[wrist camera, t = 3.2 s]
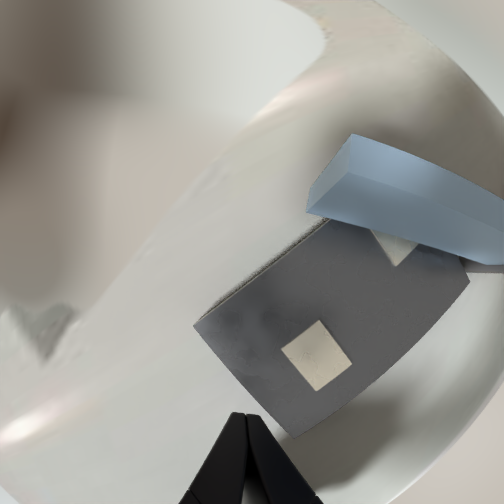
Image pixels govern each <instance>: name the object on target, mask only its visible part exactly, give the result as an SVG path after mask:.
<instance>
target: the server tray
mask: <svg viewBox="0 0 504 504" xmlns="http://www.w3.org/2000/svg"><path fill="white" fill-rule="evenodd" d="M469 283H470V280H469V278H468V276H467V274H466V272H465V270H464V268H463V266H462V264H461V262H460V260H459V258H458V256H457V255H455V254H452V253H449V252H446V251H443V250H440V249H437V248H433V247H430V246H427V245H424V244H420V243H417V242H414V241H410V240H407V239H404V238H400V237H397V236H393V235H390V234H386V233H383V232H379V231H375V230H372V229H368V228H364V227H361V226H357V225H353V224H349V223H346V222H342V221H338V220H334V219H329V220H327V221H326V222H325V223H324V224H322V225H321V226H320V227H319V228H317V229H316V230H315V231H314V232H312V233H311V234H310V235H308V236H307V237H306V238H305V239H303V240H302V241H301V242H300V243H298V244H297V245H296V246H295V247H293V248H292V249H291V250H289V251H288V252H287V253H286V254H284V255H283V256H282V257H280V258H279V259H278V260H277V261H275V262H274V263H273V264H271V265H270V266H269V267H268V268H266V269H265V270H264V271H262V272H261V273H260V274H259V275H257V276H256V277H255V278H253V279H252V280H251V281H249V282H248V283H247V284H245V285H244V286H243V287H242V288H240V289H239V290H238V291H236V292H235V293H234V294H232V295H231V296H230V297H228V298H227V299H226V300H224V301H223V302H222V303H220V304H219V305H218V306H217V307H215V308H214V309H213V310H211V311H210V312H209V313H207V314H206V315H205V316H203V317H202V318H201V319H199V320H198V321H197V322H196V323H195V324H194V325H193V327H194V328H195V329H196V331H197V332H198V333H199V334H200V336H201V337H202V338H203V339H204V341H205V342H206V343H207V344H208V346H209V347H210V348H211V349H212V350H213V352H214V353H215V354H216V355H217V356H218V358H219V359H220V360H221V361H222V362H223V364H224V365H225V366H226V367H227V368H228V369H229V371H230V372H231V373H232V374H233V375H234V376H235V377H236V379H237V380H238V381H239V382H240V383H241V384H242V385H243V386H244V387H245V389H246V390H247V391H248V392H249V393H250V394H251V395H252V396H253V397H254V398H255V400H256V401H257V402H258V403H259V404H260V405H261V406H262V407H263V408H264V409H265V410H266V411H267V412H268V413H269V414H270V415H271V416H272V417H273V418H274V419H275V421H276V422H277V423H278V424H279V425H280V426H281V427H282V428H283V429H284V430H285V431H286V432H287V433H288V434H289V435H290V436H292V437H293V438H294V439H295V438H296V437H298V436H300V435H301V434H303V433H304V432H306V431H308V430H309V429H311V428H312V427H314V426H315V425H317V424H318V423H320V422H321V421H323V420H324V419H326V418H327V417H328V416H330V415H331V414H333V413H334V412H336V411H337V410H338V409H340V408H341V407H342V406H344V405H345V404H346V403H348V402H349V401H350V400H352V399H353V398H354V397H356V396H357V395H358V394H359V393H361V392H362V391H363V390H364V389H366V388H367V387H368V386H369V385H371V384H372V383H373V382H374V381H375V380H377V379H378V378H379V377H380V376H381V375H382V374H384V373H385V372H386V371H387V370H388V369H389V368H390V367H392V366H393V365H394V364H395V363H396V362H397V361H398V360H399V359H400V358H401V357H402V356H403V355H405V354H406V353H407V352H408V351H409V350H410V349H411V348H412V347H413V346H414V345H415V344H416V343H417V342H418V341H419V340H420V339H421V338H422V337H423V336H424V335H425V334H426V333H427V332H428V331H429V330H430V328H431V327H432V326H433V325H434V324H435V323H436V322H437V321H438V320H439V319H440V318H441V316H442V315H443V314H444V313H445V312H446V311H447V310H448V309H449V307H450V306H451V305H452V304H453V303H454V301H455V300H456V299H457V298H458V297H459V295H460V294H461V293H462V292H463V290H464V289H465V288H466V287H467V285H468V284H469Z"/></svg>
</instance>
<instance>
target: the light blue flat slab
mask: <svg viewBox="0 0 504 504" xmlns="http://www.w3.org/2000/svg"><path fill="white" fill-rule="evenodd" d="M306 213H310V214H314V215H318V216H322V217H326V218H330V219H334V220H338V221H342V222H346V223H349V224H353V225H357V226H361V227H364V228H368V229H372V230H375V231H379V232H383V233H386V234H390V235H393V236H397V237H400V238H404V239H407V240H410V241H414V242H417V243H420V244H424V245H427V246H430V247H433V248H437V249H440V250H443V251H446V252H449V253H452V254H455V255H459V260H460V262H461V264H462V266H463V268H464V270H465V272H467V273H504V200H503V199H501V198H500V197H498V196H496V195H495V194H493V193H491V192H489V191H487V190H486V189H484V188H482V187H480V186H478V185H476V184H475V183H473V182H471V181H469V180H467V179H465V178H463V177H461V176H459V175H457V174H455V173H453V172H451V171H448V170H446V169H444V168H442V167H440V166H438V165H435V164H433V163H431V162H429V161H426V160H424V159H422V158H419V157H417V156H414V155H412V154H409V153H407V152H404V151H402V150H399V149H397V148H394V147H391V146H389V145H386V144H383V143H380V142H377V141H374V140H372V139H369V138H366V137H363V136H359V135H356V134H353V133H352V134H351V135H350V137H349V138H348V139H347V141H346V142H345V143H344V144H343V146H342V147H341V148H340V150H339V151H338V152H337V154H336V155H335V156H334V158H333V159H332V160H331V162H330V163H329V164H328V166H327V167H326V168H325V169H324V171H323V172H322V173H321V175H320V176H319V177H318V179H317V180H316V181H315V183H314V184H313V185H312V187H311V188H310V192H309V198H308V203H307V209H306Z"/></svg>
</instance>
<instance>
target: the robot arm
mask: <svg viewBox="0 0 504 504" xmlns="http://www.w3.org/2000/svg"><path fill="white" fill-rule="evenodd" d="M315 495H316V494H315V492H314V491H313V490H312V488H311V487H310V486H309V485H308V483H307V482H306V481H305V479H304V478H303V477H302V475H301V474H300V473H299V471H298V470H297V469H296V467H295V466H294V464H293V463H292V462H291V460H290V459H289V458H288V456H287V455H286V453H285V452H284V451H283V449H282V448H281V446H280V445H279V443H278V442H277V440H276V439H275V438H274V436H273V435H272V433H271V432H270V430H269V429H268V427H267V426H266V424H265V423H264V421H263V420H262V418H261V417H260V416H259V415H254V414H246V415H245V414H244V413H237V412H232V413H231V415H230V417H229V418H228V420H227V422H226V424H225V426H224V428H223V429H222V431H221V433H220V435H219V437H218V438H217V440H216V442H215V444H214V446H213V447H212V449H211V451H210V453H209V454H208V456H207V458H206V460H205V461H204V463H203V465H202V466H201V468H200V470H199V472H198V473H197V475H196V477H195V478H194V480H193V482H192V483H191V485H190V487H189V488H188V490H187V491H186V493H185V494H184V496H183V498H182V499H181V501H180V502H179V504H324V503H323V502H322V501H321V500H320V498H319V497H318V496H315Z"/></svg>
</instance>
